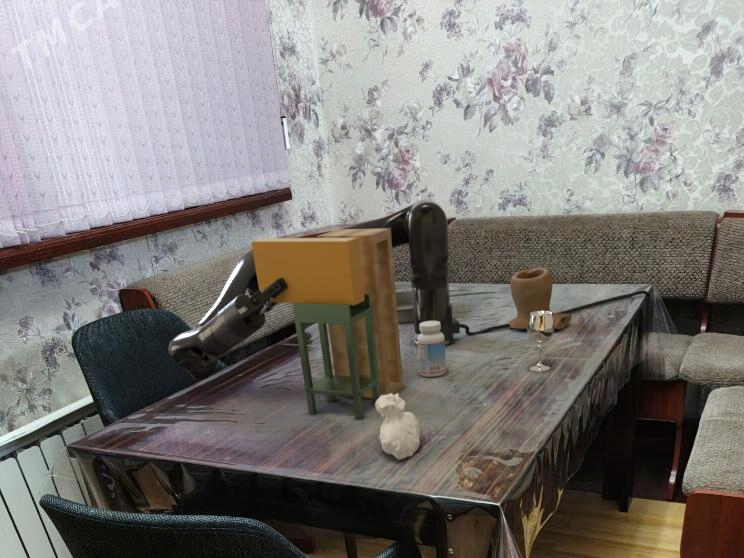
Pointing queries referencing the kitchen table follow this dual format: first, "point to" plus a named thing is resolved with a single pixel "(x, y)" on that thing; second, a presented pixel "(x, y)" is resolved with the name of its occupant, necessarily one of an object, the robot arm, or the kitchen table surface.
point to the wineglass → (540, 333)
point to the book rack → (330, 382)
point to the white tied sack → (397, 427)
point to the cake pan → (404, 306)
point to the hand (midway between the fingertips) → (291, 279)
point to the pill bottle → (431, 349)
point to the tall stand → (384, 310)
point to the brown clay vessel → (533, 297)
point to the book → (311, 269)
